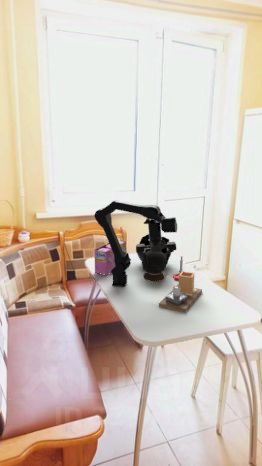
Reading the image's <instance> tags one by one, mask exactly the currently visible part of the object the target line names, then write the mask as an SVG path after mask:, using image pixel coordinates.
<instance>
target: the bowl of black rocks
mask: <svg viewBox="0 0 262 466" xmlns="http://www.w3.org/2000/svg"><path fill="white" fill-rule="evenodd" d="M161 239H162V241H163V240H165V244H167V242H171V241H170V239H169V238H166V236H161ZM138 244H144V246H149V233H147V234H145V235H144V236H142V237H141V239H140V241H139V243H138ZM150 250H151V249H150ZM150 250H146V252H147V251H150ZM161 252H162V253H163V254H164V255H165V257H166V255H167V248H164V249H162V251H161ZM136 255H137V257H138V258H139V260H140V262H142V257H143V256H142V254H139V253H136ZM171 255H172V253H171V254H170V256H169V259H170V258H171Z"/></svg>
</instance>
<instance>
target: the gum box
mask: <svg viewBox="0 0 262 466" xmlns="http://www.w3.org/2000/svg"><path fill="white" fill-rule="evenodd" d="M118 241H119V243H120V246H121V248H122V250H123V252H124V253H125V254H126V253H127V241H120V240H118ZM93 250H94V252H93V253H94V273H95V274H96V273H101V274H105V275H104V276H106V275H107V276H108V275H110V274H112V273H111V270H112V269H113V268H114V267H115V262H114V253H113V251H112V249H111V246H110V244H109V242H107V243H106V244H103V245H102V246H100V247H97V248H96V249H93ZM109 273H110V274H109ZM101 274H100V275H101Z"/></svg>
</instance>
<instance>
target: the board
mask: <svg viewBox="0 0 262 466" xmlns="http://www.w3.org/2000/svg"><path fill="white" fill-rule="evenodd" d="M176 286H179V284H177V285H176ZM202 292H203V289H202V288H201V289H200V288H198V287H197V288H196V287H194V289H193V292H192V294H188V293H185V295H186V296H187V302H185V303H183V304H182V305H180V306H176V305H173V304H171V303H168V302H166V296H168V295H169V294H171V293H173V289H172V290H171V291H170V292H169V293H168V294H166V296H165V297H163V299H162V300H160V301H159V302H158V307H160V308H164V309H169V310H170V311H171V310H173V311H177V312H180V313H184V314H185V313H187V311H188V310H189V309H190V308H191V306H192V305H193V304H194V303H195V301H196V300H197V299H198V298H199V297H200V295H201V294H202ZM180 294H183V293H181V292H180Z"/></svg>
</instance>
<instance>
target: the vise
mask: <svg viewBox="0 0 262 466" xmlns="http://www.w3.org/2000/svg"><path fill="white" fill-rule="evenodd" d="M172 290H173V293H171V294H169V293H168V294H169V295H168V294H167V295H168V296H167V295H166V296H165V297H166V302H168V303H171V304H173V305H176V306H180V305H182V304H183V303H185V302H187V296H186V295H185V293H183V294H180V287H179V286H177V285H175V286H173V288H172Z"/></svg>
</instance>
